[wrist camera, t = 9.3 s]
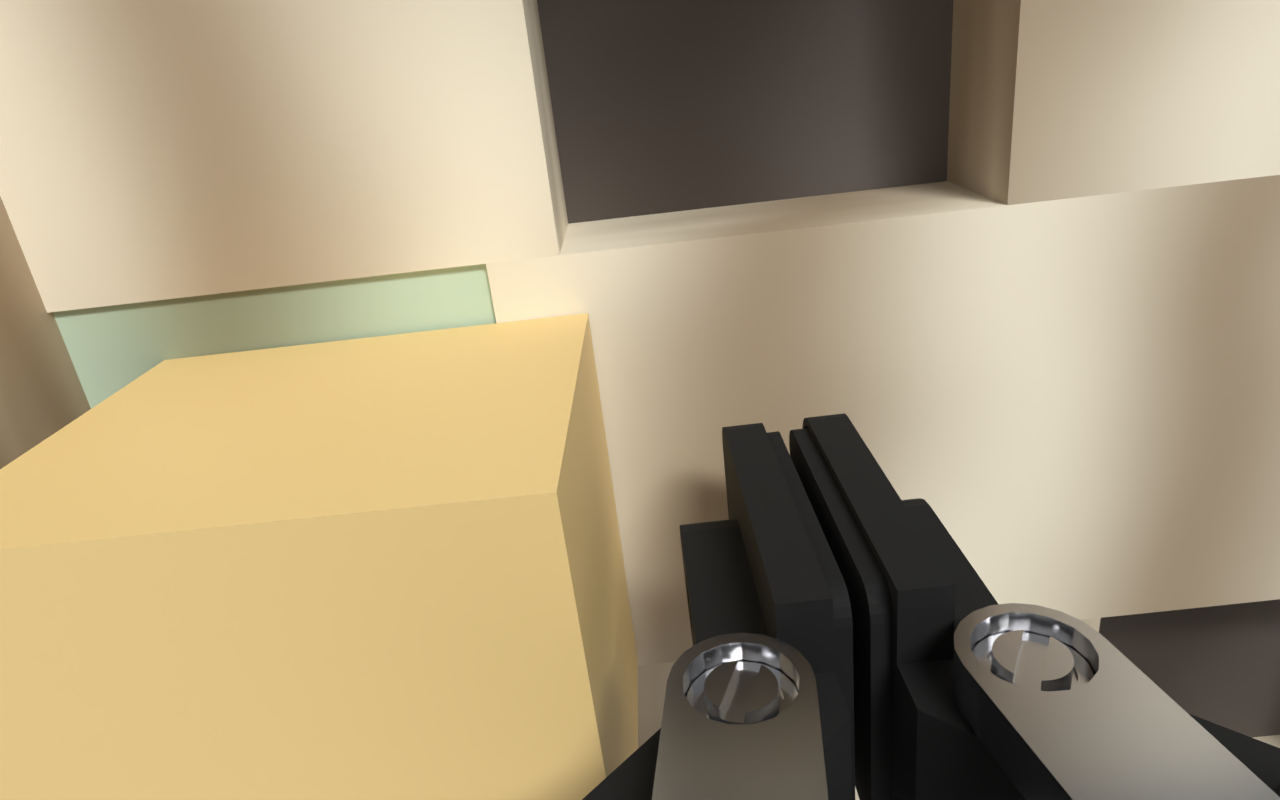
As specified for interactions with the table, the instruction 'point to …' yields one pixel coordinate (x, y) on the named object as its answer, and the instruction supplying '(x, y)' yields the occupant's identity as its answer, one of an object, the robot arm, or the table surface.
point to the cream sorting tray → (722, 257)
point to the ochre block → (323, 579)
